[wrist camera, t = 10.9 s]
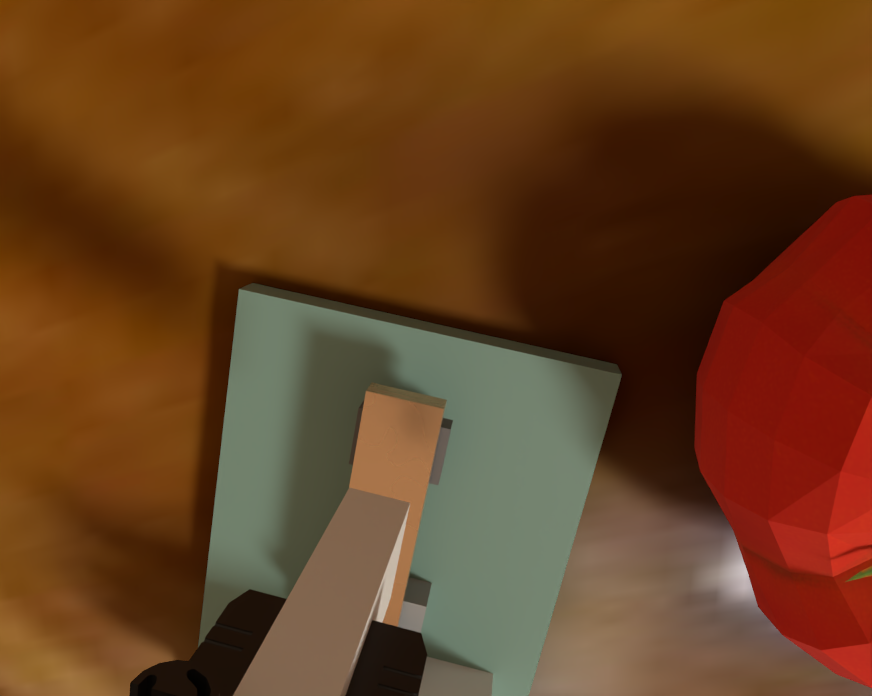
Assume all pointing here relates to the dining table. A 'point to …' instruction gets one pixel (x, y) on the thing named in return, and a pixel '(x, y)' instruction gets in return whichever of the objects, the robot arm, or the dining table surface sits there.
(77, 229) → the dining table surface
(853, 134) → the dining table surface
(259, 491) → the board
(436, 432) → the strap
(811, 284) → the tomato
